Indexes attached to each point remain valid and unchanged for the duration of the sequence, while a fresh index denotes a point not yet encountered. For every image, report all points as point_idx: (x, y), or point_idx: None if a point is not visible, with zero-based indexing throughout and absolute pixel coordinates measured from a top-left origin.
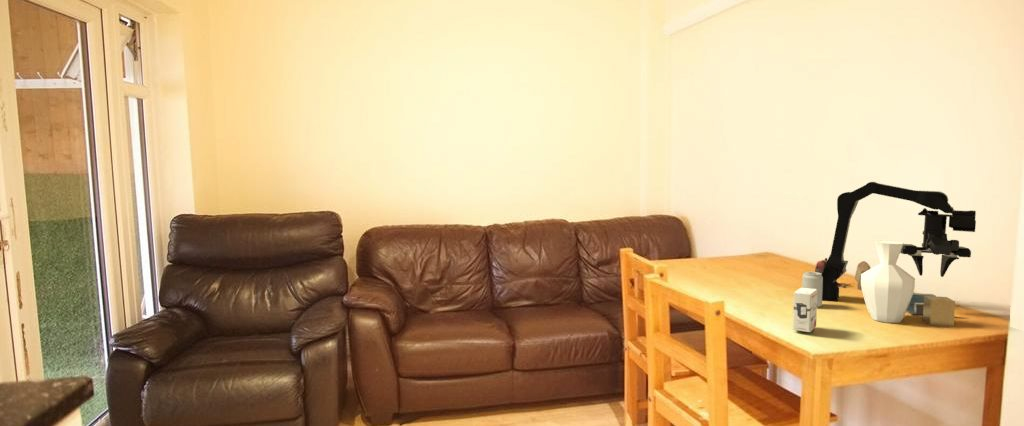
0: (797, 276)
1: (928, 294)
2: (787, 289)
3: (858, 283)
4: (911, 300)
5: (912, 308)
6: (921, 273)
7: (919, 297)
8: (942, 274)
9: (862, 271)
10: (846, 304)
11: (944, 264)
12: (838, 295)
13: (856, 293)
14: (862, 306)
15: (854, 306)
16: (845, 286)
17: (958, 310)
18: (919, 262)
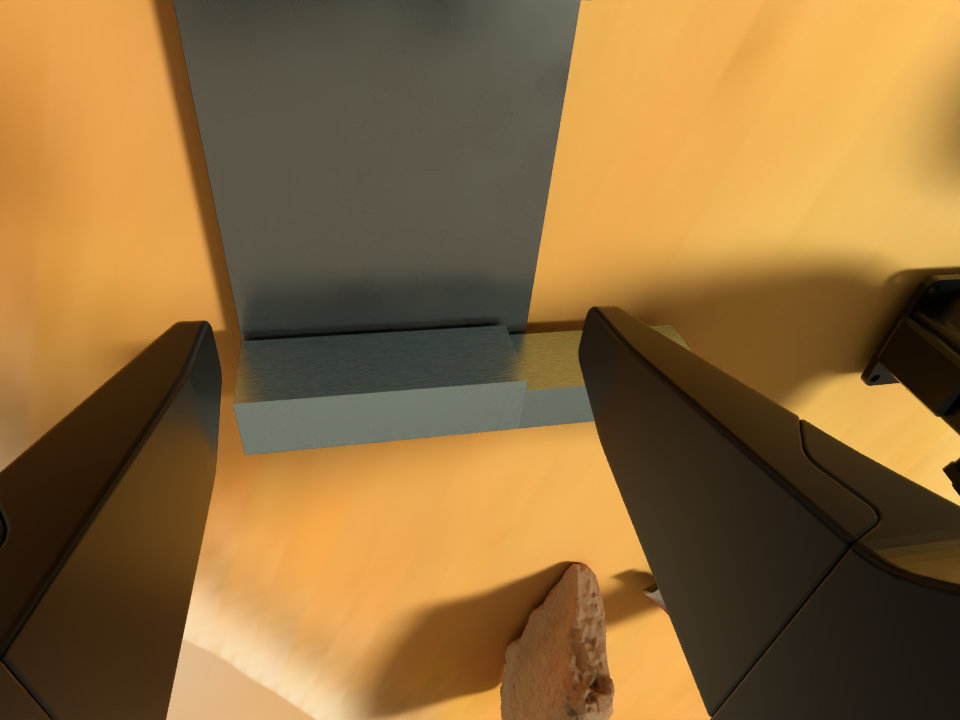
0: (697, 692)
1: (289, 432)
2: (935, 488)
3: (604, 614)
4: (437, 347)
5: (483, 173)
6: (627, 322)
7: (376, 374)
8: (192, 346)
9: (610, 702)
10: (899, 227)
11: (85, 596)
12: (920, 329)
13: (621, 529)
14: (826, 193)
15: (890, 174)
16: (647, 590)
17: (45, 287)
18: (882, 497)
